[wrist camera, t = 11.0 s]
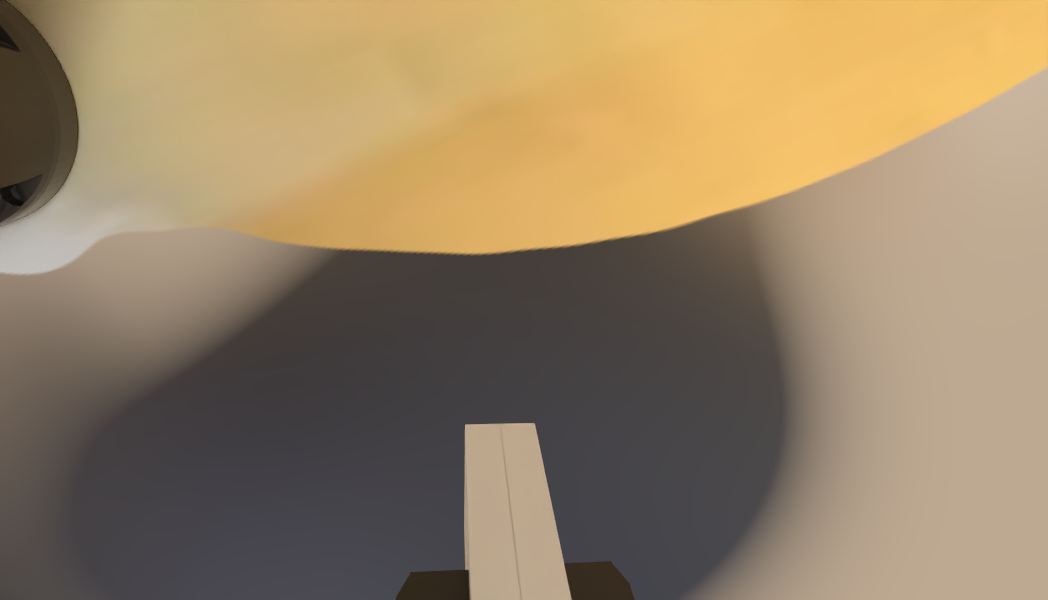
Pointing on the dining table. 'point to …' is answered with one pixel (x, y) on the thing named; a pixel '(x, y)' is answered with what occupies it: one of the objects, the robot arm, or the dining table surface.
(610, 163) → the dining table surface
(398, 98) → the dining table surface
